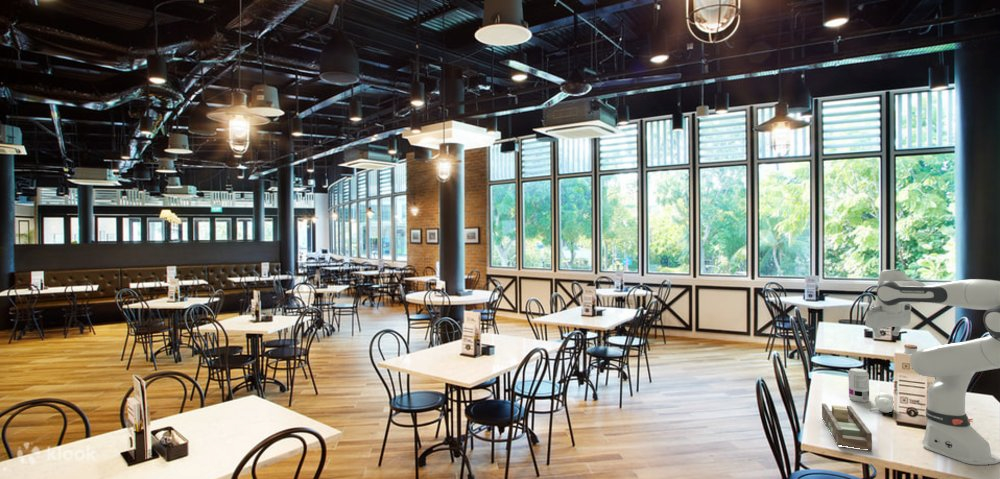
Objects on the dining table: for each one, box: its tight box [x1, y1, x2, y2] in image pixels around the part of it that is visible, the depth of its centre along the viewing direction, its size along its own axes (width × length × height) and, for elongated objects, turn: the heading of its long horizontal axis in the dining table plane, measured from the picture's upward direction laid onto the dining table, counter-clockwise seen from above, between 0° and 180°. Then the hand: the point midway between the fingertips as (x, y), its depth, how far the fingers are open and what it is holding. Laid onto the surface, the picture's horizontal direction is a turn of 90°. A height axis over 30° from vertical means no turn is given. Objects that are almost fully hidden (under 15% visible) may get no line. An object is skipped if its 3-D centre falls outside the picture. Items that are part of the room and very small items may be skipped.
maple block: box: [831, 404, 848, 419], centre depth 218 cm, size 5×5×4 cm
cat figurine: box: [869, 391, 894, 414], centre depth 234 cm, size 9×11×12 cm
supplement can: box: [848, 367, 870, 403], centre depth 249 cm, size 8×8×15 cm
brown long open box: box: [821, 403, 873, 451], centre depth 210 cm, size 32×11×7 cm, turn 157°
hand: (886, 336), depth 219 cm, fingers open, 8 cm apart
